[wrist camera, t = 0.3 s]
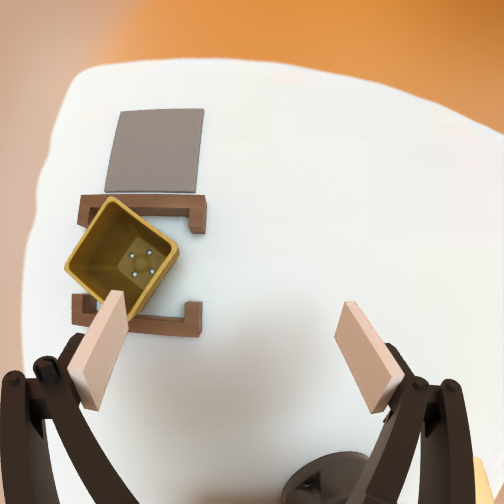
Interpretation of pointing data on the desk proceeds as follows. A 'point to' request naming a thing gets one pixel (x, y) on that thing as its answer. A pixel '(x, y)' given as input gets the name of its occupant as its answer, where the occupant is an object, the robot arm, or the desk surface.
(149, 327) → the pair of brown brackets
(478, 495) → the cone light
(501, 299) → the desk surface
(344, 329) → the robot arm
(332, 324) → the desk surface
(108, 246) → the flower pot
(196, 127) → the slate mat
